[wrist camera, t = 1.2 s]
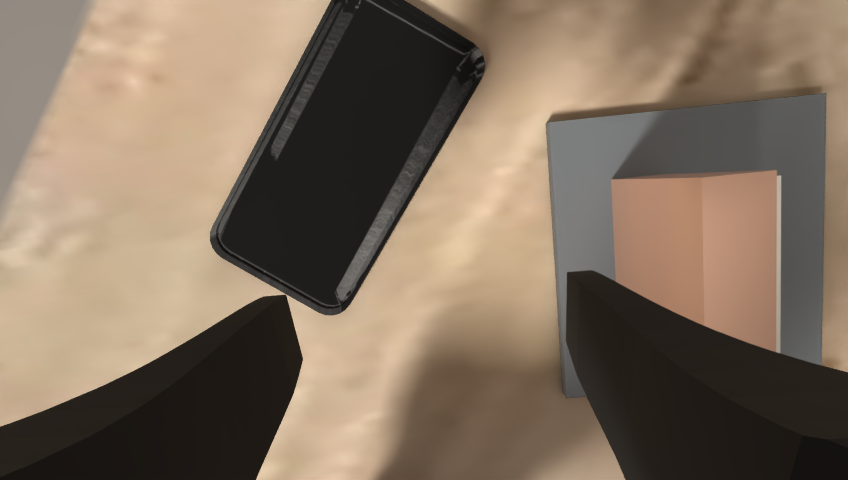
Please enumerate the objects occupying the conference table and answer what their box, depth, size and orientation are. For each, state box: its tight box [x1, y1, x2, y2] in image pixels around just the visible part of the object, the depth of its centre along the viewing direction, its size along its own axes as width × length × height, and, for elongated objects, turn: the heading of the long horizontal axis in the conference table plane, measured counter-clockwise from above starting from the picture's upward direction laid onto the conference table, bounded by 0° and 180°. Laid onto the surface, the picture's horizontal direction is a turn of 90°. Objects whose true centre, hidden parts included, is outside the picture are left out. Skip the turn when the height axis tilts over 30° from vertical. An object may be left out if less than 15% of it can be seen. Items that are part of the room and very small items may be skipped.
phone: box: [210, 0, 485, 315], centre depth 21 cm, size 8×1×15 cm
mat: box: [546, 93, 826, 398], centre depth 22 cm, size 14×13×1 cm
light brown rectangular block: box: [611, 170, 781, 353], centre depth 18 cm, size 8×3×7 cm, turn 6°
